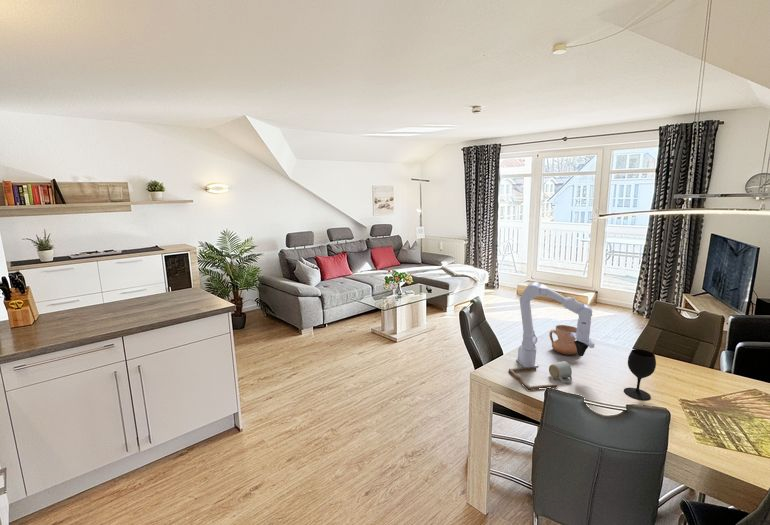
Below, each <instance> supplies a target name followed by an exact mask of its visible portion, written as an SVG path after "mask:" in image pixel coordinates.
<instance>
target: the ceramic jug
mask: <svg viewBox="0 0 770 525" xmlns="http://www.w3.org/2000/svg"><path fill="white" fill-rule="evenodd" d="M576 332H577V326H576V327H575V326H572V325H566V324H559V325H558V324H557V325H556V326H555V329H551V330H550V331H549V335H548V336H549V338H550V341H551V347H552V349H553V350H554V351H555V352H557V353H558V354H561V355H565V356H566V355H567V356H571V355H572V356H573V355H578V353H577V348H576V345H575V343H574V341H576V339H575V338H574V337H571V333H576ZM553 334H555V335H556V336H557V340H554V338H553Z"/></svg>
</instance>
